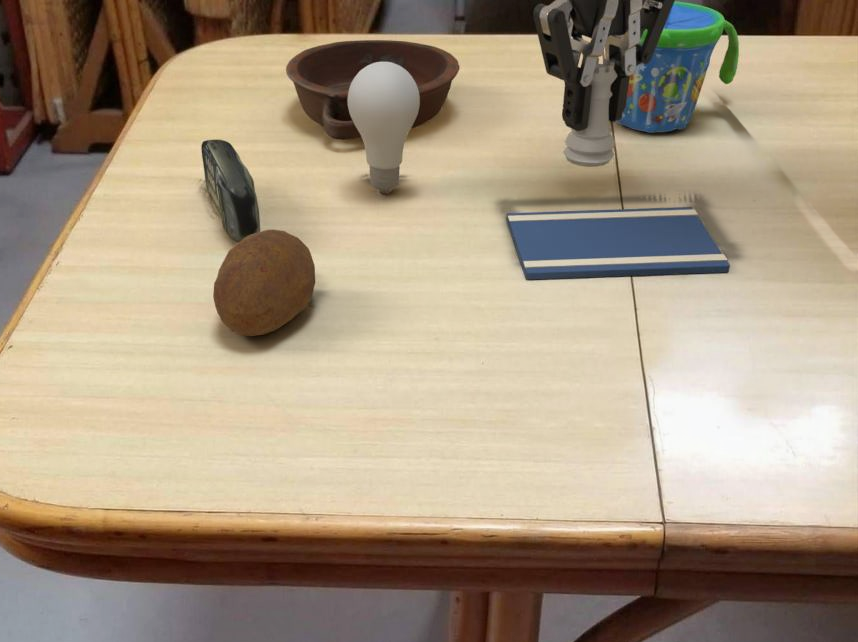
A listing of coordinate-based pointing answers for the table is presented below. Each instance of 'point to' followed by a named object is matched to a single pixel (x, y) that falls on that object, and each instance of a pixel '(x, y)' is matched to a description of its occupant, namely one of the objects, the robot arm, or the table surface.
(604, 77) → the rook chess piece
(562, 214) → the towel
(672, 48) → the snack cup
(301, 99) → the dish
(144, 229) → the table surface
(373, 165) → the lightbulb
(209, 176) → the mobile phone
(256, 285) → the potato
